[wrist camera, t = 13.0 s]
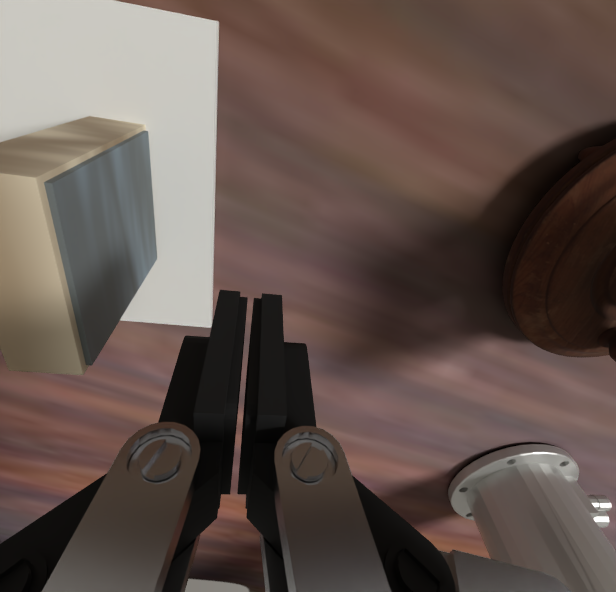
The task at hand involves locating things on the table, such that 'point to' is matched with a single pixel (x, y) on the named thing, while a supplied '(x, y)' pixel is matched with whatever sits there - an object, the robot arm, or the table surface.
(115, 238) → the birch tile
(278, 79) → the table surface
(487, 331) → the table surface
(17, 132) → the rubber mat
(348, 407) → the table surface
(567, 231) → the brown wooden ornament
